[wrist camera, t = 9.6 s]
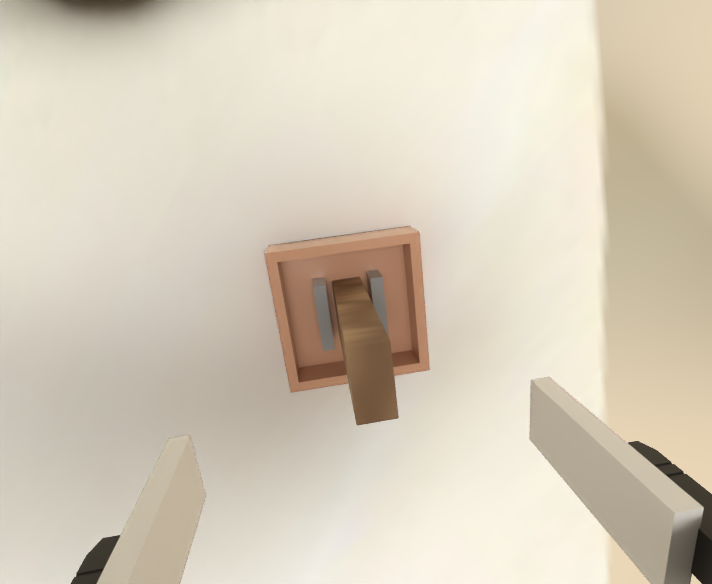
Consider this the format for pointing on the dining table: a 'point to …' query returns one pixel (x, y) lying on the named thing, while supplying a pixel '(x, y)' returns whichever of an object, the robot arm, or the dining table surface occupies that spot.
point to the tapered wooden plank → (365, 353)
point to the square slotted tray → (317, 306)
